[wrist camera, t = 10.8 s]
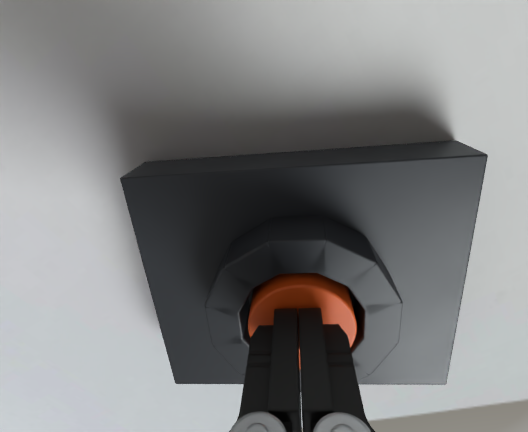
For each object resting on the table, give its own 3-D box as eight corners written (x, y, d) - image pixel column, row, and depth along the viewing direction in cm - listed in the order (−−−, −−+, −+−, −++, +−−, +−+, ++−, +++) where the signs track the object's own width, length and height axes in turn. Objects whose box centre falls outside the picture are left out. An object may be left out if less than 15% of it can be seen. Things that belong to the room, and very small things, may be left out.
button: (349, 254, 12) (359, 283, 10) (348, 333, 13) (356, 370, 12) (248, 258, 12) (241, 287, 11) (257, 335, 14) (253, 370, 12)
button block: (456, 140, 12) (526, 171, 9) (427, 346, 16) (466, 426, 13) (144, 161, 14) (90, 196, 10) (188, 348, 18) (161, 421, 14)
